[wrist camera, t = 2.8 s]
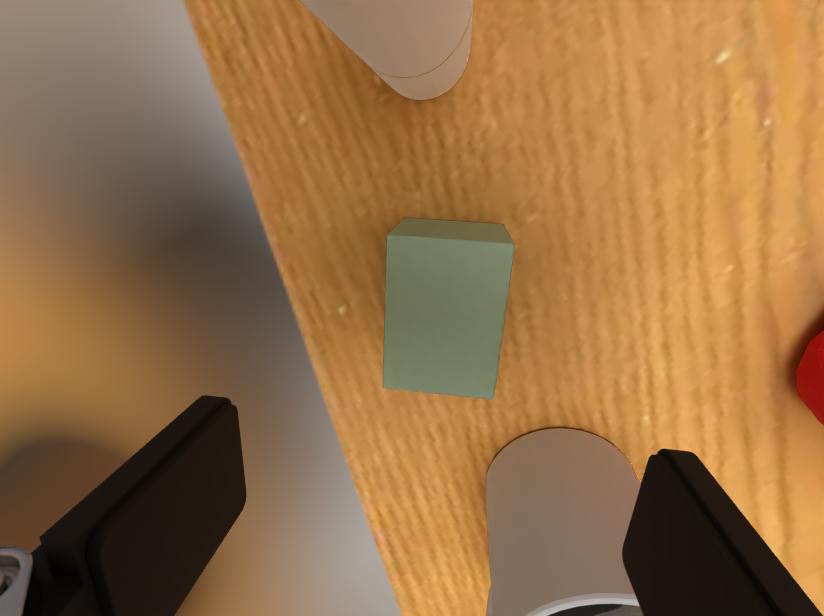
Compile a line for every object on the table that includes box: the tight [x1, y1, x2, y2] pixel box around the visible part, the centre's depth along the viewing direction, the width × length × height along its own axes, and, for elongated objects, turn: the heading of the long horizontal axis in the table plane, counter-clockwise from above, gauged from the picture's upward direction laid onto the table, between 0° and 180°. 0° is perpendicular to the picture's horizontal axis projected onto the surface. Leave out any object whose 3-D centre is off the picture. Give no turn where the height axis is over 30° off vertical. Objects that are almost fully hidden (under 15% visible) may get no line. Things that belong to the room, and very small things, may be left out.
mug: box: [485, 428, 643, 616], centre depth 21 cm, size 11×10×10 cm
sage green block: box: [383, 218, 515, 400], centre depth 20 cm, size 7×5×5 cm
